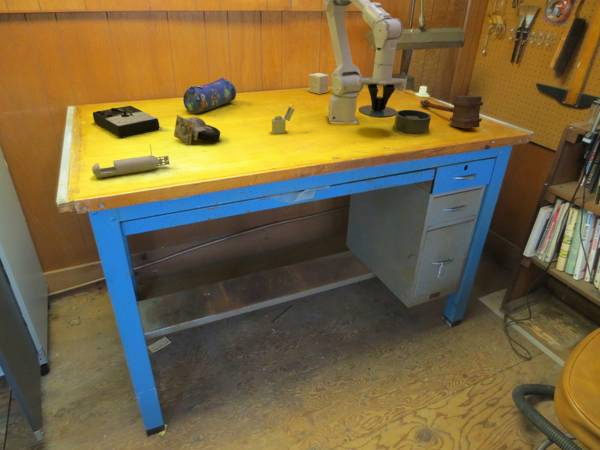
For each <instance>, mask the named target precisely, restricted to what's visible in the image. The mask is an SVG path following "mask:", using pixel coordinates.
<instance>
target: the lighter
mask: <svg viewBox="0 0 600 450" xmlns="http://www.w3.org/2000/svg"><path fill="white" fill-rule="evenodd" d="M294 112H295V108H294V107H293V106H288V108H287V110H286V112H285V115H284V117H283V116H282V115H276V116H274V118H272V119H271V133H272V135H280V134H285V133H286V127H287V125H286V123H287V122H286V121H288V122H290V121H291V119H292V116H293V114H294Z"/></svg>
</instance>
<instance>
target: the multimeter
mask: <svg viewBox="0 0 600 450" xmlns="http://www.w3.org/2000/svg"><path fill="white" fill-rule="evenodd" d="M92 118H93V121H94V123H95V124H96V125H98V126H99V127H101V128H102V129H105V130H106V131H108V132H109V133H111V134H113V135H114V136H117V137H118V138H120V139H121V138H122V139H123V138H127V137H131V136H135V135H141V134H145V133H149V132H153V131H158V130H159V129H160V123H159V119H158V118H157V117H155V116H154V115H151V114H150V113H147V112H146V111H143V110H141V109H139V108H137V107H135V106H133V105H125V106H120V107H111V108H108V109H104V110H96V111H93V112H92Z"/></svg>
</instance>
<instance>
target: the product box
mask: <svg viewBox="0 0 600 450" xmlns="http://www.w3.org/2000/svg"><path fill="white" fill-rule="evenodd" d="M308 82H309V83H308V84H309V86H308V92H309V93H313V94H317V95H321V94H325V93H328V92H329V82H330V75H329V74H327V73H321V72H316V73H311V74H309V81H308Z"/></svg>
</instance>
